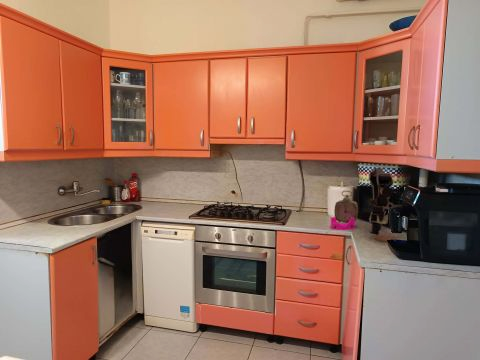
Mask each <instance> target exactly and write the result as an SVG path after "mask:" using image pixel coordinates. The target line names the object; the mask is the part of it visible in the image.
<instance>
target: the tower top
mask: <svg viewBox="0 0 480 360" xmlns="http://www.w3.org/2000/svg"><path fill="white" fill-rule="evenodd" d="M391 230H392V229H387V228H382V229H380V230H379V236H383V237H390V238H392V237H393V236H394V235H395V232H394V233H392V232H391Z"/></svg>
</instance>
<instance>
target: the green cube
mask: <svg viewBox="0 0 480 360" xmlns="http://www.w3.org/2000/svg"><path fill="white" fill-rule="evenodd" d="M388 221H389V214H388V215H384V218H383V220H382V222H380V221H379V217H378V215H377V223H381V224H382V225H386V224H388Z"/></svg>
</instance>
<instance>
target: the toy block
mask: <svg viewBox="0 0 480 360" xmlns="http://www.w3.org/2000/svg"><path fill="white" fill-rule="evenodd" d="M338 222H339V221H337V220H336V218H335V216H330V229H331V230H333V231H349V230H353V231H354V230H356V229H355V227H356V225H355V224H356V220H355V218H351V219H350V221H349V222H348V223H346V222H345V223H341V222H339V223H338Z"/></svg>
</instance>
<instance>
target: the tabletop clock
mask: <svg viewBox="0 0 480 360" xmlns="http://www.w3.org/2000/svg"><path fill="white" fill-rule="evenodd" d="M345 192H349V193H350V195H349V194H346V195H345V194H343V193H345ZM341 195H342V196H343V199H342V200H340V199H339V200H338V201H337V202H335V205H334V217H335V218H336V221H337V222H338V223H345V224H346V223H348V222H349V221H350V219H351V218H355V221H357V218H358V215H359V206H358V203H357V201H354V200H351V198H350V197H351V196H352V195H353V192H351V191H350V190H343V191H342V192H341Z"/></svg>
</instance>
